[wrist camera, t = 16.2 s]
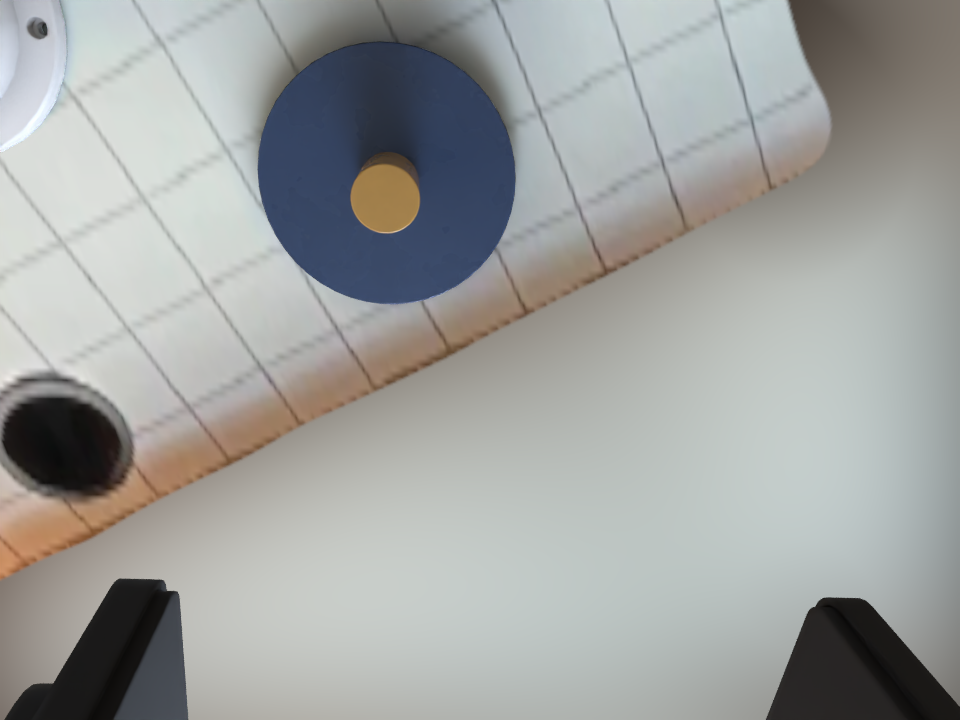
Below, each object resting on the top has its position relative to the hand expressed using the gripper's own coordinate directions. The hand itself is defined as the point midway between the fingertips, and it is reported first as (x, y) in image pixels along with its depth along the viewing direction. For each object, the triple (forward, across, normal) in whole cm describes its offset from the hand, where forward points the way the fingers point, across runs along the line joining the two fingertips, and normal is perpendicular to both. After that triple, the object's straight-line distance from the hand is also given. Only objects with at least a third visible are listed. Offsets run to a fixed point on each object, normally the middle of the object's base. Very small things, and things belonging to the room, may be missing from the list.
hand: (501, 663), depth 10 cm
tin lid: (+28, +3, -3) cm, 28 cm away
